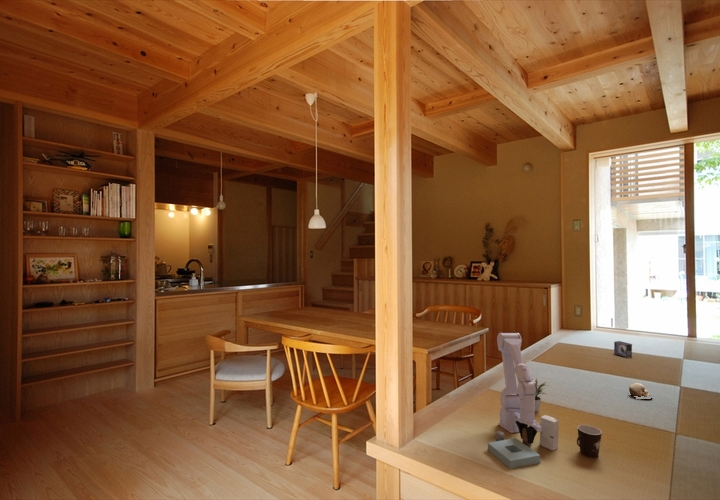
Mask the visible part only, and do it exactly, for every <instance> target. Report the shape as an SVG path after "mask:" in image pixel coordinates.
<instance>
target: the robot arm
mask: <svg viewBox="0 0 720 500" xmlns="http://www.w3.org/2000/svg"><path fill="white" fill-rule="evenodd" d="M496 342H497V343H496V344H497V349H498V351H500V352H501V359H502V366H503V367H502V368H503V373H504V382H505V388H504V389H502V390H501V391H500V397H499V398H500V404H501V407H500V409H499V422H498V423H497V424H498V426H500V427H501V428H502V429H504V430H506V431H508V432H509V433H511V434H514V433H519V435H520V439H521V440H522V431H523V428H525V429H526V432H527V441H528V443H529V444H534V441H535V438H536V436H537V433H540V432H541V431H542V427H541V426H540V425H539V423H538V422H537V421H536V419H535V415H536V412H535V395H537V392H538V387H537V386H538V383H537V384H536V382H535V380H534V378H532V376H531V373H530V370H529V368H528V365H526V364H525V362H524V358H523V354H522V351H521V347H522V342H523V339H522V336H521V334H520V333H519V332H514V333H513V332H499V333H498V334H497V337H496ZM517 382H518V384H517Z"/></svg>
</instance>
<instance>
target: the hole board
mask: <svg viewBox="0 0 720 500" xmlns="http://www.w3.org/2000/svg"><path fill="white" fill-rule="evenodd" d="M487 451H488V452H490V453H491V454H492V455H493V456H494V457H496V458H497V459H498V460H499V461H500V462H501V463H503V464H504V465H505V466H506V467H508V468H509V469H515V468H516V469H517V468H521V467H527V466H531V465H535V464H540V463H541V455H540V454H539V453H538V452H536V451H535V450H533V449H532V448H531V447H528V446H526V445H525V444H523V443H522V440H519V439H517V438H516V437H515V438H514V437H513V438H509V439H504V440H501V441H496V442H495V441H490V442H487Z"/></svg>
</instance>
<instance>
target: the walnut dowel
mask: <svg viewBox="0 0 720 500" xmlns="http://www.w3.org/2000/svg"><path fill="white" fill-rule="evenodd" d="M521 442H522V443H523V444H525V445H526V446H528V447H529V448H531V447H532V446H533V445H532V444H533V443H532V444H529V443H528V441H527V432H526V429H525V428H523V431H522V439H521Z"/></svg>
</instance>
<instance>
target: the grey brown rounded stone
mask: <svg viewBox="0 0 720 500" xmlns="http://www.w3.org/2000/svg"><path fill="white" fill-rule="evenodd" d="M494 433H495V437H494V438H495V440H494V442H496V441H501V440H505V433H504V432H503V431H501V430H497V431H495V432H494Z"/></svg>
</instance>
